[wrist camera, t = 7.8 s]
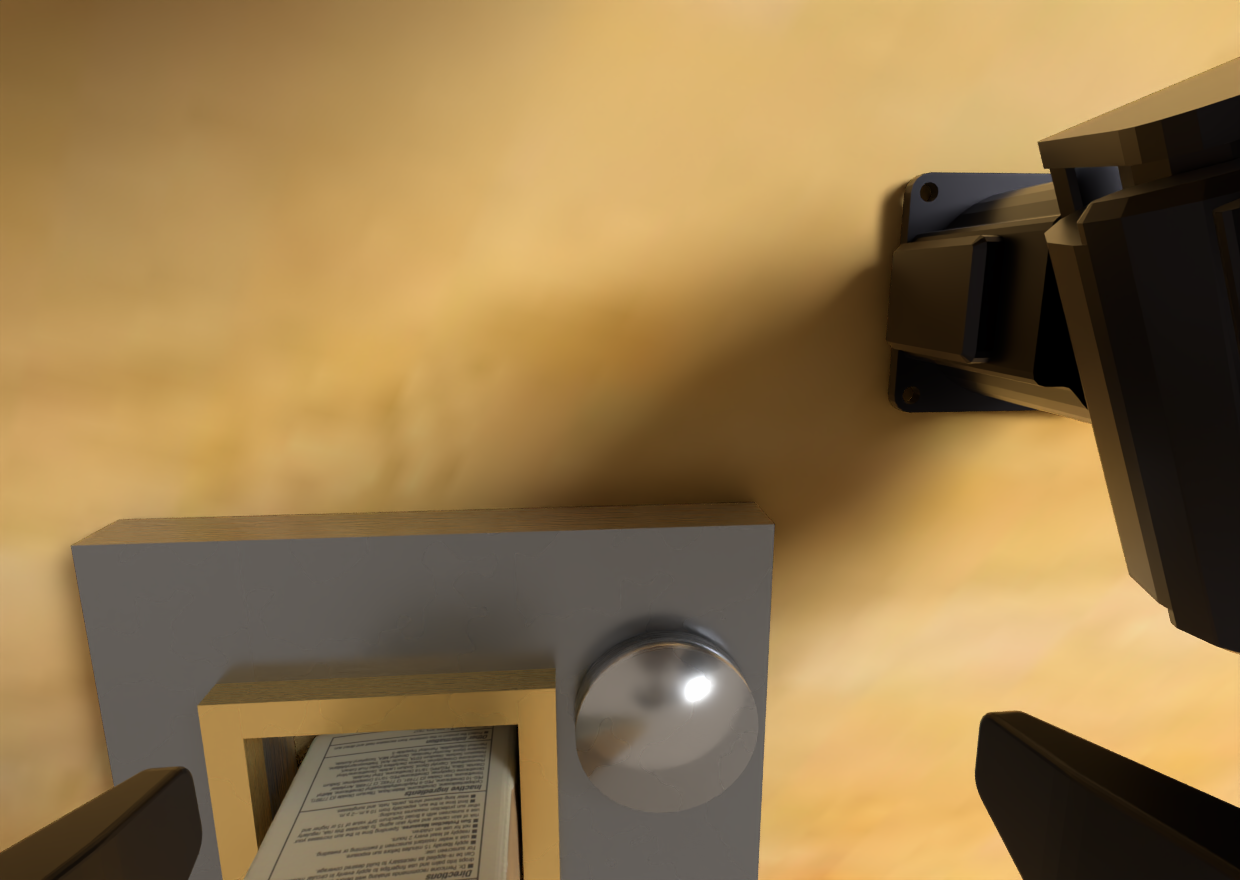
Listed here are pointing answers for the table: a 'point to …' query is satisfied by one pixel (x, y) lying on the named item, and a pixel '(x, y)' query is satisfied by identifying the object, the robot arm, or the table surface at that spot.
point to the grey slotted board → (453, 665)
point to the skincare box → (400, 808)
